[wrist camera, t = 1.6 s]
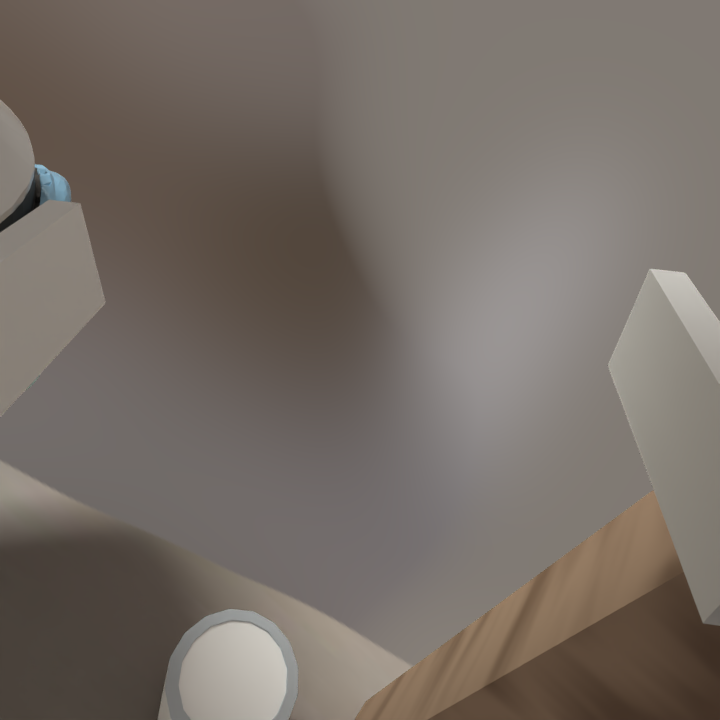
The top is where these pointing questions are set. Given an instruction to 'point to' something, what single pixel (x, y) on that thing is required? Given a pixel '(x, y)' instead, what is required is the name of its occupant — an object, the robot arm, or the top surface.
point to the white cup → (231, 671)
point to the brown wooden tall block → (577, 642)
